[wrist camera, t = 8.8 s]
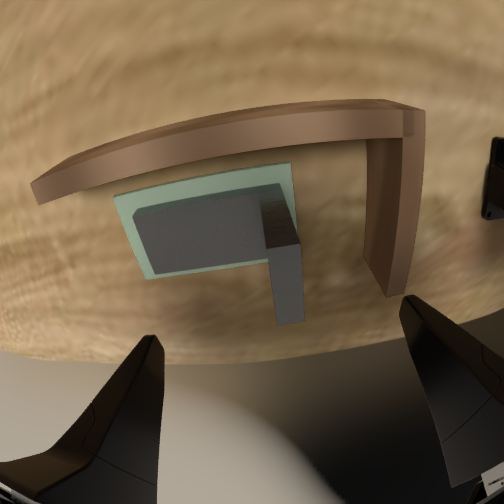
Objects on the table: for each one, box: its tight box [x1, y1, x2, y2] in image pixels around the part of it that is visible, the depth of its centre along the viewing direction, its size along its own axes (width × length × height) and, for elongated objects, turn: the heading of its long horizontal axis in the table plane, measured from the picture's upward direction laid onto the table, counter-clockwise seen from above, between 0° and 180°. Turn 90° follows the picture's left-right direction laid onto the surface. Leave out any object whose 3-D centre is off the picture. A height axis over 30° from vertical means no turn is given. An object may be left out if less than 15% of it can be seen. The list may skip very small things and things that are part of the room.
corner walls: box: [30, 99, 425, 297], centre depth 14 cm, size 18×10×4 cm, turn 99°
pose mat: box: [113, 161, 297, 280], centre depth 16 cm, size 10×6×1 cm, turn 99°
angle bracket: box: [132, 183, 305, 325], centre depth 14 cm, size 8×4×6 cm, turn 99°
